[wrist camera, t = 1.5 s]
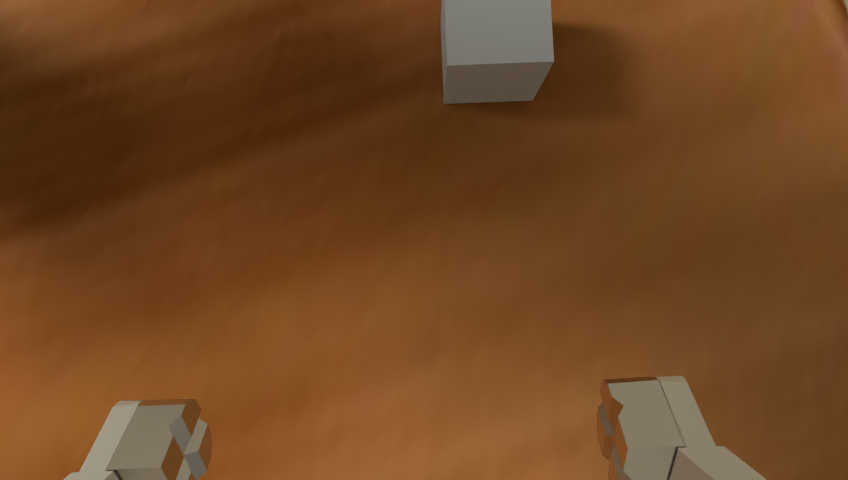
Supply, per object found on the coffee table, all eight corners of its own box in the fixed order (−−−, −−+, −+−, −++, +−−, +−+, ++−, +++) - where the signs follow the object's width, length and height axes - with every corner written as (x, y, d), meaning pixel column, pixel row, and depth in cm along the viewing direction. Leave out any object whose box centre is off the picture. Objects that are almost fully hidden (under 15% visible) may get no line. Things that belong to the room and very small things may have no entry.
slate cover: (443, 103, 42) (447, 65, 35) (440, 23, 42) (443, -31, 35) (532, 100, 42) (554, 61, 35) (528, 20, 42) (548, -35, 35)
